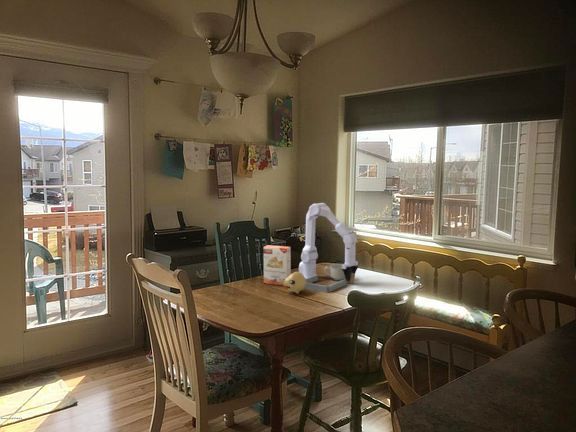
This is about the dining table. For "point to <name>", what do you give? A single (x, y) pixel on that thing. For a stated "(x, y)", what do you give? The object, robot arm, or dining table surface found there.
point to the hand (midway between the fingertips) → (349, 279)
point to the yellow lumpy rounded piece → (295, 282)
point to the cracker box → (276, 264)
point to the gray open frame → (322, 287)
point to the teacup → (335, 271)
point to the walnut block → (351, 278)
